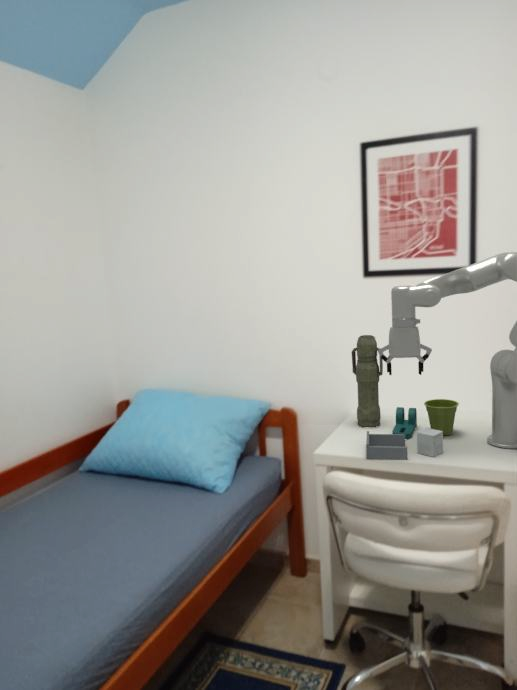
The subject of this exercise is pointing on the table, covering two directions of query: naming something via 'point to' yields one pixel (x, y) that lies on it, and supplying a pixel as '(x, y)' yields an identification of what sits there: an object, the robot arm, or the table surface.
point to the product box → (430, 442)
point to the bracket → (405, 422)
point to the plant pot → (441, 414)
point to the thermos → (367, 380)
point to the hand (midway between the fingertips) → (405, 374)
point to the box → (379, 451)
